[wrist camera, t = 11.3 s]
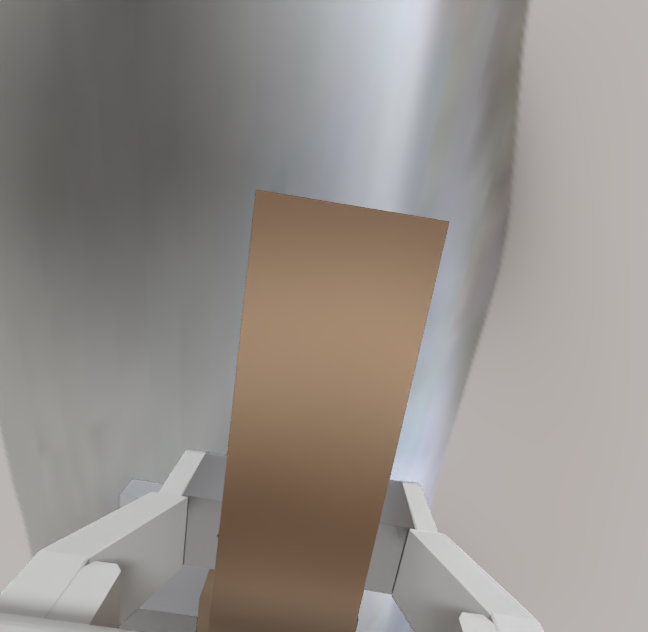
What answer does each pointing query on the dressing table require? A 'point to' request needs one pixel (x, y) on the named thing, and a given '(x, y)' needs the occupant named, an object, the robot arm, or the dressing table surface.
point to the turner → (316, 409)
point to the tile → (185, 584)
